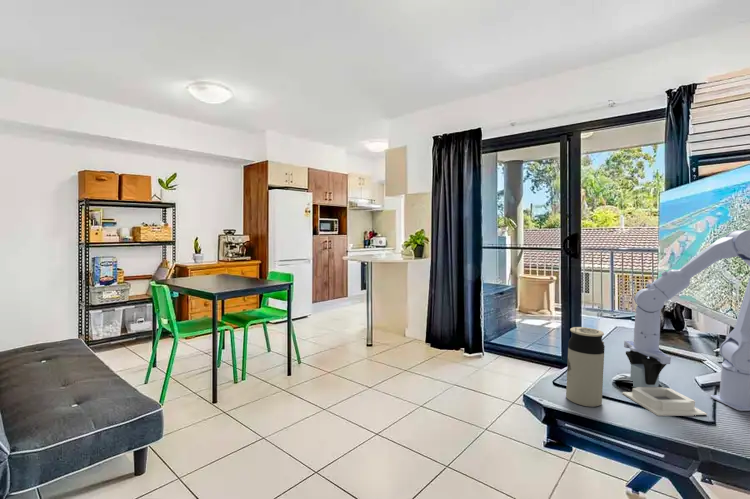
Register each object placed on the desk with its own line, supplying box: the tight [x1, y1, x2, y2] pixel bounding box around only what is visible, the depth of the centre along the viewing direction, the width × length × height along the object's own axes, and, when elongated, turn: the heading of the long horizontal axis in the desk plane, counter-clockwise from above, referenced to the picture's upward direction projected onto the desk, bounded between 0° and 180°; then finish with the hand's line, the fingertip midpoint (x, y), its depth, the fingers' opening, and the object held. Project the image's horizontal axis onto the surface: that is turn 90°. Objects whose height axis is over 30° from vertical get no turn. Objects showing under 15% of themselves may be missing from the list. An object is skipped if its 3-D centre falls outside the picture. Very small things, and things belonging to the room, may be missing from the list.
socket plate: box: [621, 386, 708, 417], centre depth 95 cm, size 12×12×2 cm
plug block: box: [629, 364, 660, 388], centre depth 105 cm, size 5×4×6 cm
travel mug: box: [565, 326, 606, 408], centre depth 96 cm, size 8×8×18 cm
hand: (644, 380), depth 105 cm, fingers closed on plug block, 4 cm apart
